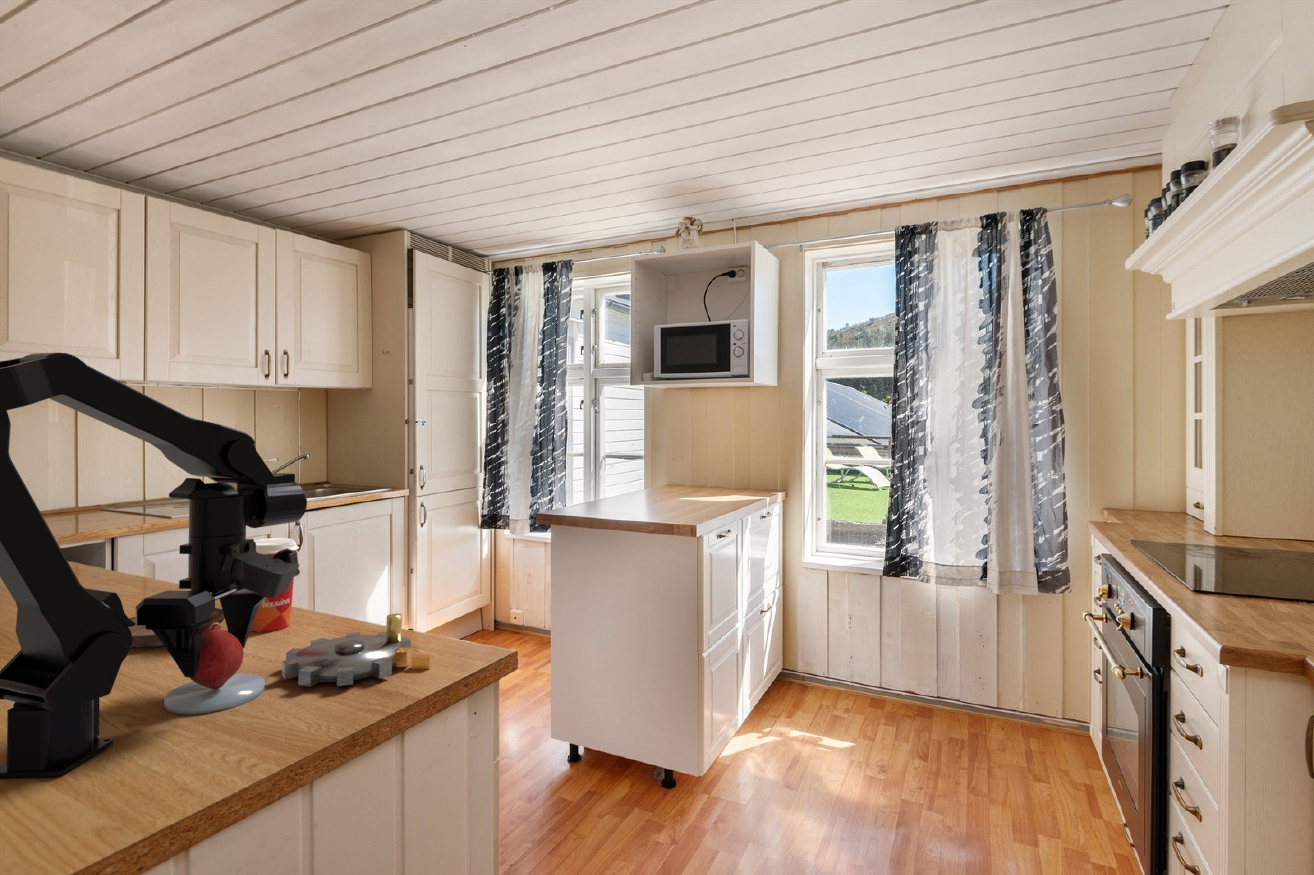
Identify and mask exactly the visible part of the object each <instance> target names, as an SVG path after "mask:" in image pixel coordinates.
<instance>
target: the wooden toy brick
mask: <svg viewBox="0 0 1314 875" xmlns="http://www.w3.org/2000/svg"><path fill="white" fill-rule="evenodd" d="M431 667H433V654H427V653H426V654H425V653H424V654H421V653H419V654H413V655H412V656H411V670H431Z"/></svg>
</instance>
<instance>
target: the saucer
mask: <svg viewBox="0 0 1314 875" xmlns="http://www.w3.org/2000/svg"><path fill="white" fill-rule="evenodd" d="M128 618H129V619H130V620H132V621H133V622H135V616H132V617H128ZM209 618H215V620H214V621H213V622H212V623H211V624H210V625H209V626H208V627H207V628H206V629H205V630H204V631H203V634H204V633H205V632H206V631H207V630H208V628H209V627H210V626H211V625H212V624H213V623H217V622H218V623H220V624H222V622H224V621H225V617H224V614H223V610H222V607H221V608H220V607H215V609H214V611H213V613H212V615H211V617H209ZM128 628H129V629H130V631H131V634H132V637H133V645H132V646H133V648H134V647H135V648H155V647H156V646H157V647H163V643H162V642H161V641H160V640H159V638H158V637H157V636H156V635H155V633H154V632H153V631H152V630H146V629H145V626H144V625H136V624H135V626H132V627H128Z"/></svg>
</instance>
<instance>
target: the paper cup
mask: <svg viewBox="0 0 1314 875" xmlns="http://www.w3.org/2000/svg"><path fill="white" fill-rule="evenodd" d="M254 542H256V552H257V553H261V554H264V555H266V554H269V553H270V554H272V557H273V556H274V555H275V554H276V553H277V552H279V551H280V550H283V549H286V548H288V549H290V550H293V551H296V552H297V550H299V548H300V547H299V546H298V545H297V542H296V541H295V539H293V538H291V537H290V538H289V537H287V538H286V537H273V538H272V537H270V538H261V539H254ZM294 579H295V577H293V579H292V582H291V584H290V587H289V589H288V591H287V592H282V593H280V594H278V595H277V596H276V597H274V598H267V599H266V600H264V601H263V602H262V603H261V604H260V606H259V608H258V611H257V613H256V616H255V619H254V621H253V624H252V627H251V630H252V631H251V630H250V631H251V632H253V631H255V632H254V633H270V632H271V631H272V632H276V631H281V630H285V629H286V628H288V627H289V626H290V625H291V624H290V623H291V617H292V615H291V614H292V607H293V606H292V604H293V593H294V592H293V591H294Z"/></svg>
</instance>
